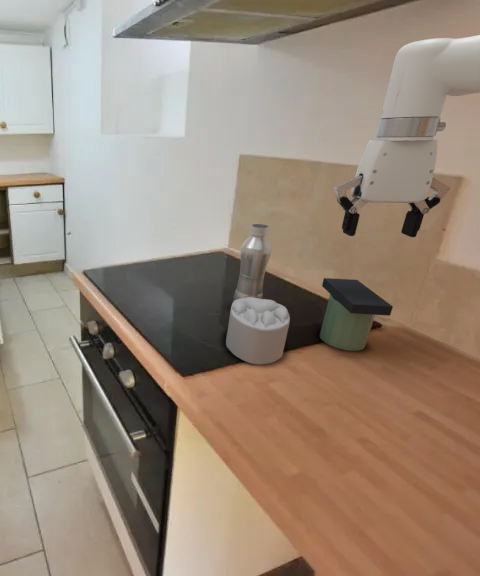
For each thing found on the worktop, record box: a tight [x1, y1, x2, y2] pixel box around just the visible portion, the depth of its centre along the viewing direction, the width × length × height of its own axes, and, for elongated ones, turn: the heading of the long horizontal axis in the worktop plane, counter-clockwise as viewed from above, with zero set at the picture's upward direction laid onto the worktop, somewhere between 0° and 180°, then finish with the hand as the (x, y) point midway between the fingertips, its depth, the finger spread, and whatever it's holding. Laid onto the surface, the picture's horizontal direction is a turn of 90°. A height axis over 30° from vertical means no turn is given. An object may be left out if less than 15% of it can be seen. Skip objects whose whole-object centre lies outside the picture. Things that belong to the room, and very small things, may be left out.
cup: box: [319, 293, 376, 352], centre depth 74 cm, size 8×8×9 cm
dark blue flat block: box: [321, 277, 394, 317], centre depth 72 cm, size 6×13×2 cm, turn 171°
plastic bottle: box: [232, 223, 272, 303], centre depth 85 cm, size 6×7×20 cm
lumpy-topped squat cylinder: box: [225, 297, 291, 365], centre depth 72 cm, size 10×13×9 cm
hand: (377, 234), depth 67 cm, fingers open, 9 cm apart
